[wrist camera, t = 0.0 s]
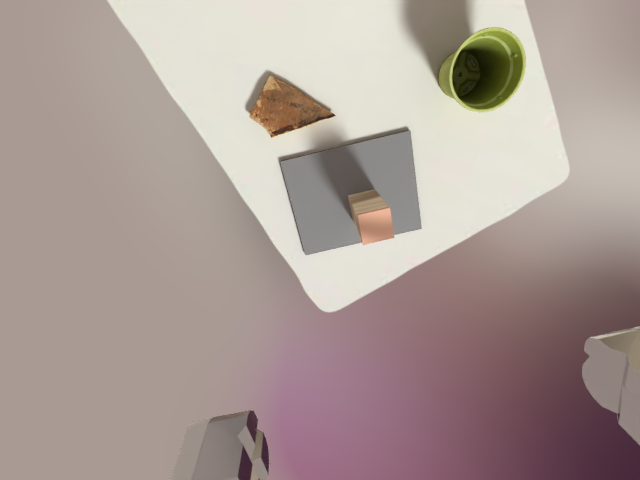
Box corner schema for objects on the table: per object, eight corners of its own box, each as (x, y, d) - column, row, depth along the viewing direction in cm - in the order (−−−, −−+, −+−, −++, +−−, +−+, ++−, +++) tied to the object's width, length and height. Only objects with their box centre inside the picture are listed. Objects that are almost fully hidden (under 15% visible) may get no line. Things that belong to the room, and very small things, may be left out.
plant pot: (450, 123, 52) (477, 128, 44) (413, 73, 49) (435, 69, 41) (501, 77, 50) (539, 73, 42) (466, 22, 47) (500, 7, 39)
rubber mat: (280, 161, 53) (280, 161, 53) (409, 130, 52) (410, 130, 52) (305, 253, 60) (305, 255, 59) (420, 227, 59) (421, 228, 58)
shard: (335, 114, 51) (336, 115, 50) (309, 158, 54) (309, 160, 52) (270, 73, 49) (269, 72, 47) (246, 121, 51) (245, 122, 50)
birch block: (347, 195, 55) (357, 215, 46) (374, 189, 55) (389, 207, 46) (352, 220, 57) (363, 244, 48) (379, 214, 57) (394, 237, 48)
